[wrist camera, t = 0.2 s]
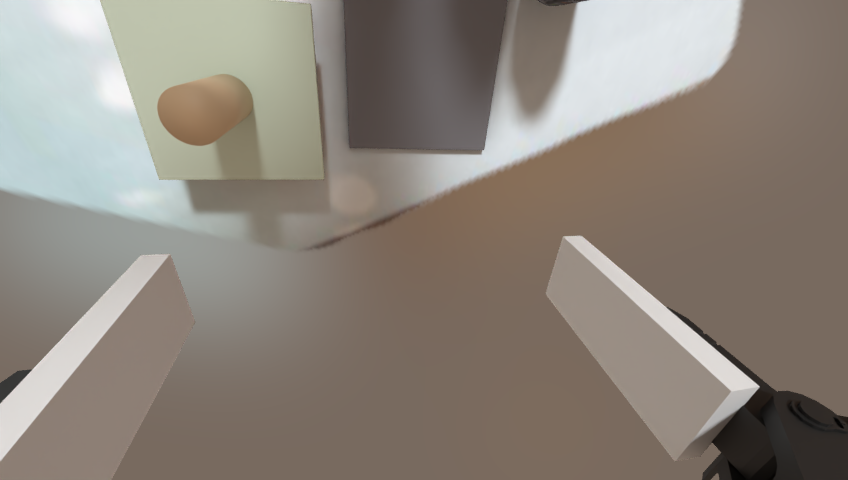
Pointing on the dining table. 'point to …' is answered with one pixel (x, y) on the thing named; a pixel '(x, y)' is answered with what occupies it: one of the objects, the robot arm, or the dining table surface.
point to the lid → (222, 86)
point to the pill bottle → (559, 2)
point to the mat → (421, 72)
